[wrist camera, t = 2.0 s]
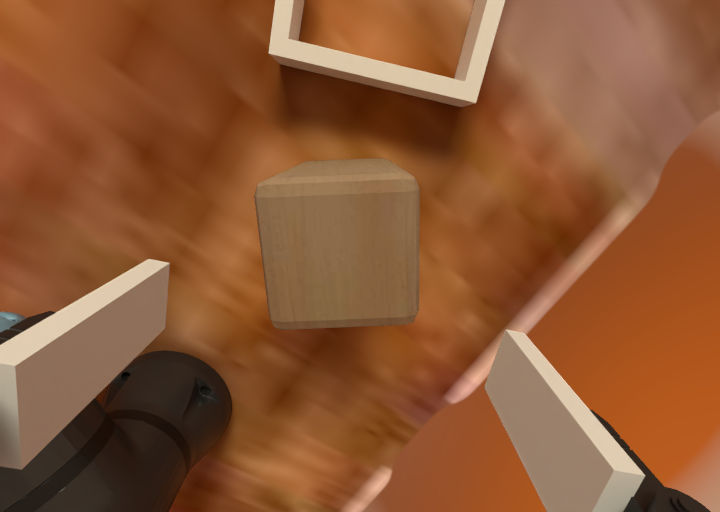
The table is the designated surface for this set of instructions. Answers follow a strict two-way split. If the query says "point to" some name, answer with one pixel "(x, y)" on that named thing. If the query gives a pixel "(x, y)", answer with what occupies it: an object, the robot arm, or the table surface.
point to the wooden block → (340, 244)
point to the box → (385, 74)
